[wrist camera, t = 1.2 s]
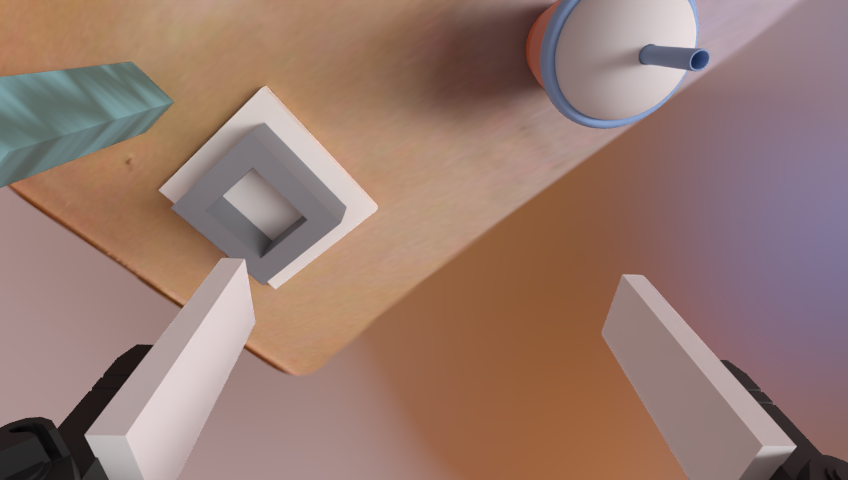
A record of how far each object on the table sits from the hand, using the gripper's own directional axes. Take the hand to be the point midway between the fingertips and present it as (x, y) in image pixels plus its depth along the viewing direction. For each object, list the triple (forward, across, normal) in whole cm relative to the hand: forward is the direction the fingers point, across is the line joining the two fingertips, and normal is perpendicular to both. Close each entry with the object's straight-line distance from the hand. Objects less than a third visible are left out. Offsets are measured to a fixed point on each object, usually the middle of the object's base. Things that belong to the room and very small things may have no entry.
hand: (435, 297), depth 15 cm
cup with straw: (+25, +11, +7) cm, 28 cm away
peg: (+25, -24, +1) cm, 34 cm away
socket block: (+25, -14, -7) cm, 29 cm away
